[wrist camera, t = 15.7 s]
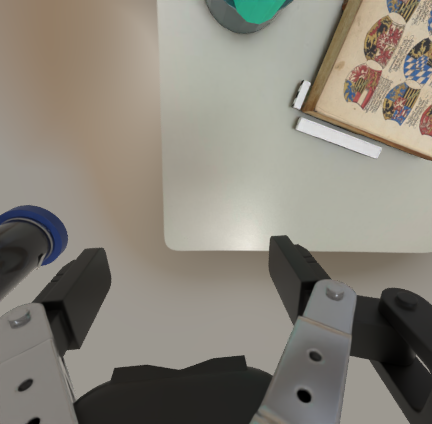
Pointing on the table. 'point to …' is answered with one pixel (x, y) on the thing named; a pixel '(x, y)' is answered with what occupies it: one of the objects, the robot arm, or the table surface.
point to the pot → (233, 18)
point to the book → (375, 79)
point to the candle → (258, 9)
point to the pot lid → (230, 2)
